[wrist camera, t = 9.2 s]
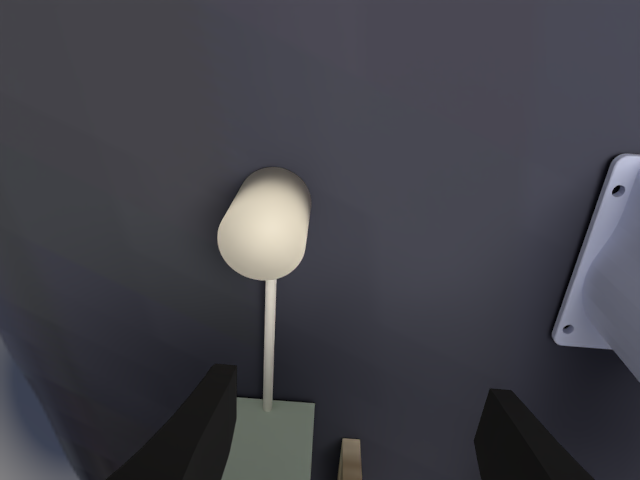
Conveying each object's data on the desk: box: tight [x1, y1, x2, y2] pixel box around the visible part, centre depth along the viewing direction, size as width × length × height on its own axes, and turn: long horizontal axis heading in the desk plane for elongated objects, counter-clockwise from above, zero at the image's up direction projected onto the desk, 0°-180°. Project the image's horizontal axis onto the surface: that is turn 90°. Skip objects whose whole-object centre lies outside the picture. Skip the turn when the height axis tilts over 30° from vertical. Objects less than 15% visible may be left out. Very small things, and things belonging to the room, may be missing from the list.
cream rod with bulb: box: [217, 167, 315, 480], centre depth 22 cm, size 18×5×5 cm, turn 176°
